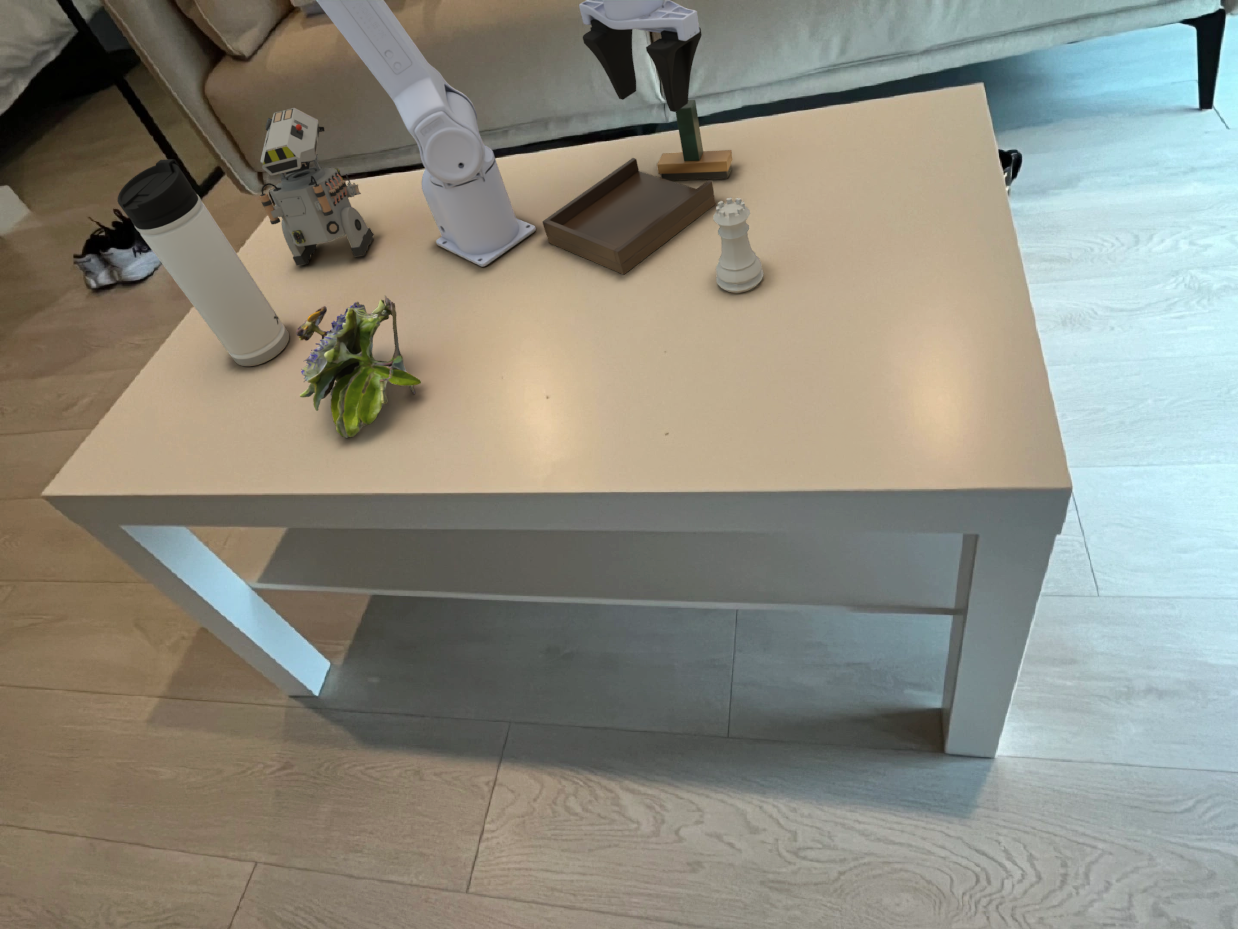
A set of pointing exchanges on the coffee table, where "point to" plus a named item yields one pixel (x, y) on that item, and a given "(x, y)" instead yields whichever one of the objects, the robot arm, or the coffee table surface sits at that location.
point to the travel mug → (203, 263)
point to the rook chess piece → (736, 249)
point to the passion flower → (352, 366)
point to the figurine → (308, 189)
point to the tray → (626, 217)
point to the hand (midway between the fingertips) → (652, 100)
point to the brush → (693, 152)
